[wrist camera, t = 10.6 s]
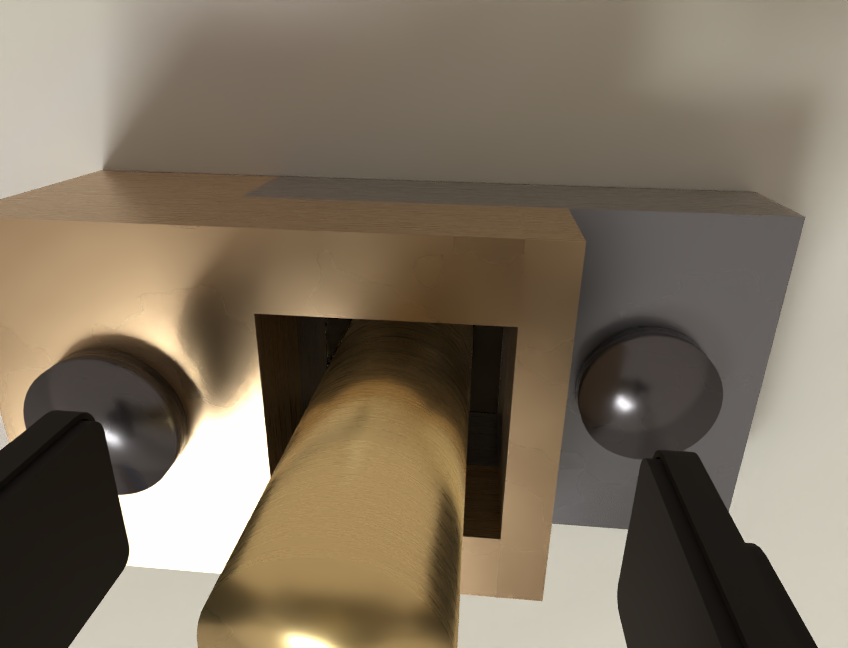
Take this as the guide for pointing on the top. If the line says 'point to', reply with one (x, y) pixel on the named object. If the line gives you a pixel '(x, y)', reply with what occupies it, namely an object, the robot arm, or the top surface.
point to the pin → (360, 505)
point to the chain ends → (396, 301)
